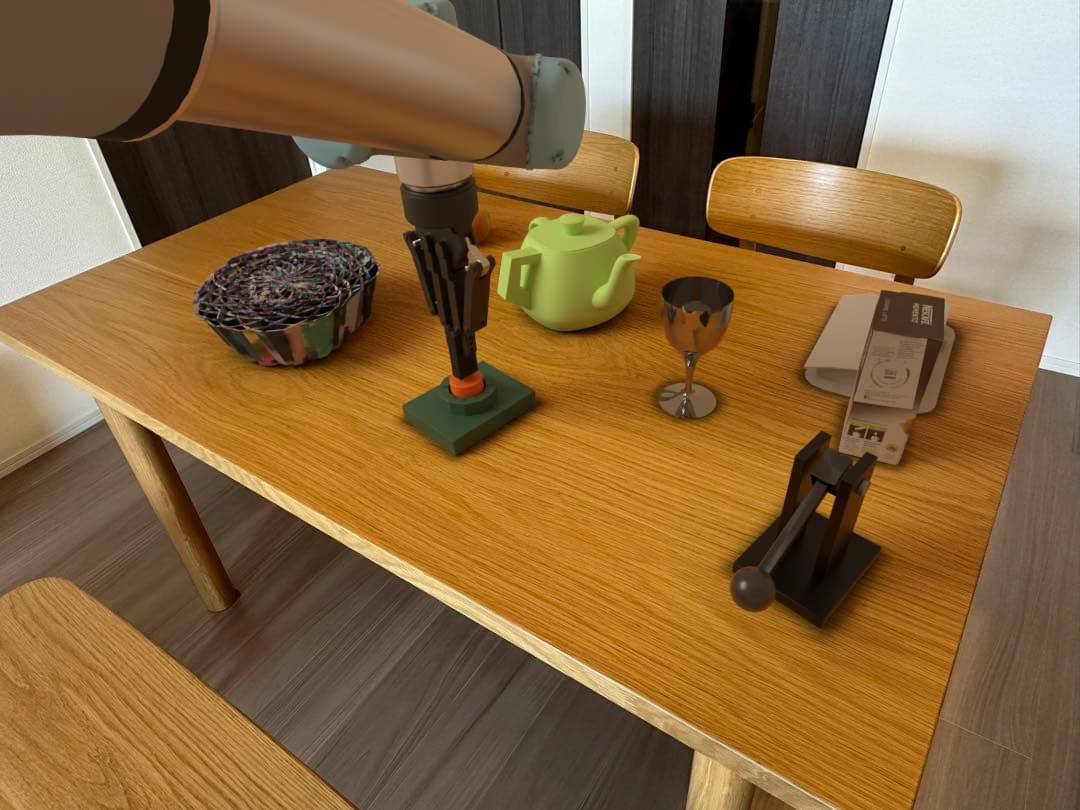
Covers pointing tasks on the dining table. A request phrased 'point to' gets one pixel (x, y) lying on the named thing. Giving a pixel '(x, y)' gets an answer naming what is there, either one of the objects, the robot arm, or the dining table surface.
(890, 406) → the coffee box
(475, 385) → the button
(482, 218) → the fruit
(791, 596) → the bracket
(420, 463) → the dining table surface
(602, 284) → the teapot
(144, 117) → the robot arm
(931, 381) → the white open box
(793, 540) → the lever
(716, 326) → the wine glass
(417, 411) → the button box
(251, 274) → the decorative bowl
